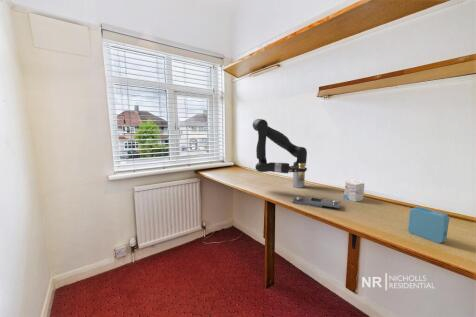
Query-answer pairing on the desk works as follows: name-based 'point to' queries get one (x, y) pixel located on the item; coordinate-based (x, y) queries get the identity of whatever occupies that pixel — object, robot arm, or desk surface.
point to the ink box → (354, 190)
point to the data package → (428, 224)
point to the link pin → (302, 174)
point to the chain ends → (317, 202)
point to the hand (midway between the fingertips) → (305, 169)
